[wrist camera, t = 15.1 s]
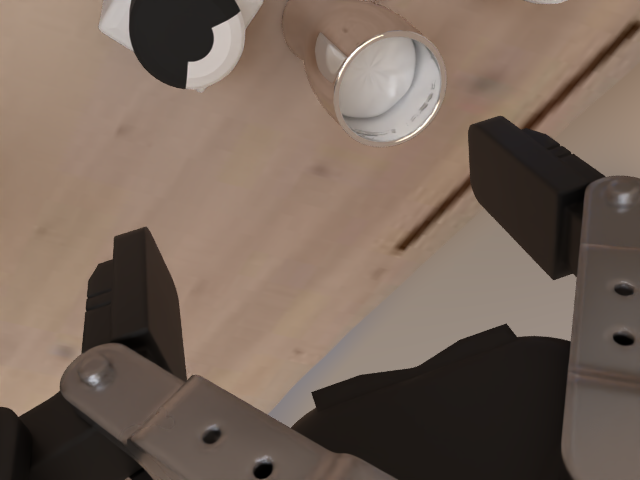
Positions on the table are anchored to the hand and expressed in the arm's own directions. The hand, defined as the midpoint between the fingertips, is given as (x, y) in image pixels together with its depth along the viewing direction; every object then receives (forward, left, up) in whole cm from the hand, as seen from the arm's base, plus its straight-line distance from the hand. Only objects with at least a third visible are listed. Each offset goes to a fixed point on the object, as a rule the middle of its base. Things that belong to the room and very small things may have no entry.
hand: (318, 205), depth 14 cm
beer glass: (+5, -8, -32) cm, 33 cm away
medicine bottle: (-2, 0, -32) cm, 32 cm away
